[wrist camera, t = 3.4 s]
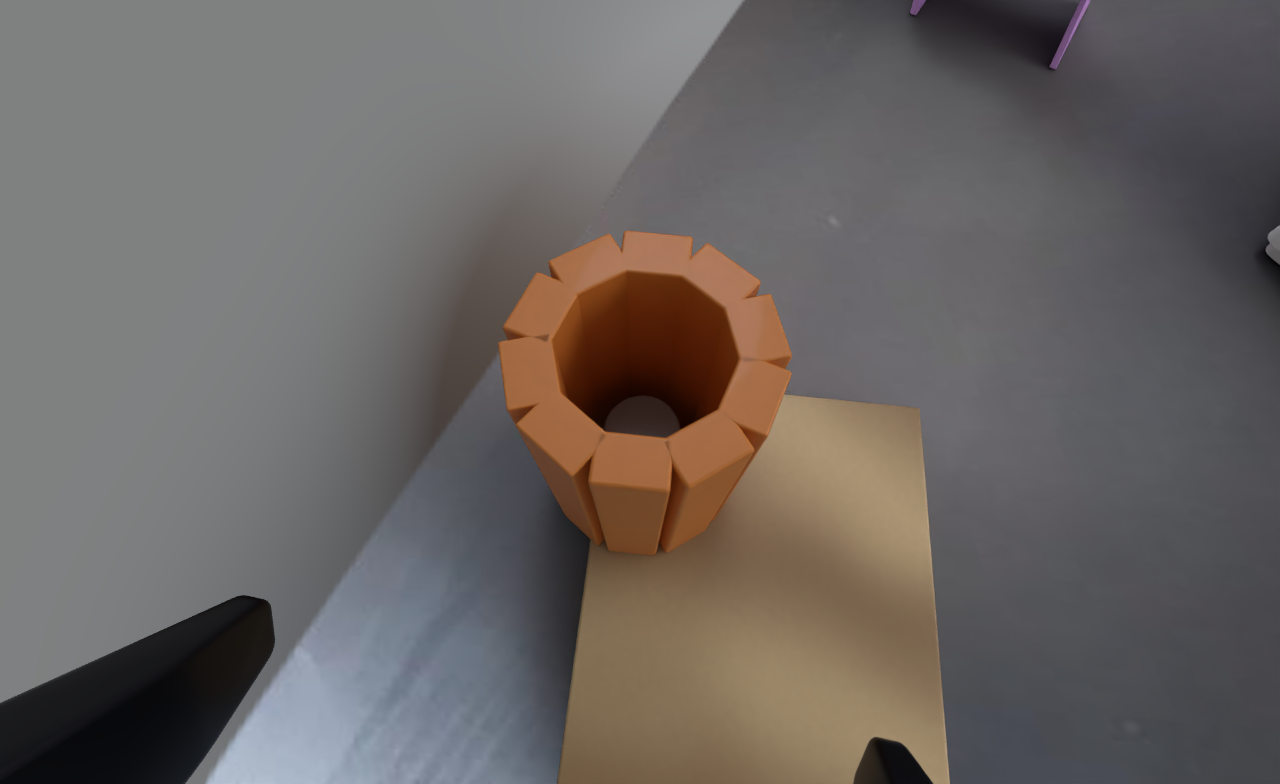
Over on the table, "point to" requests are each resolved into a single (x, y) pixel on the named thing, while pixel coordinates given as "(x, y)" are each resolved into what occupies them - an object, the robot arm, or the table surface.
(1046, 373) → the table surface
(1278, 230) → the telephone
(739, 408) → the pen holder
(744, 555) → the ring board
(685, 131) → the table surface
